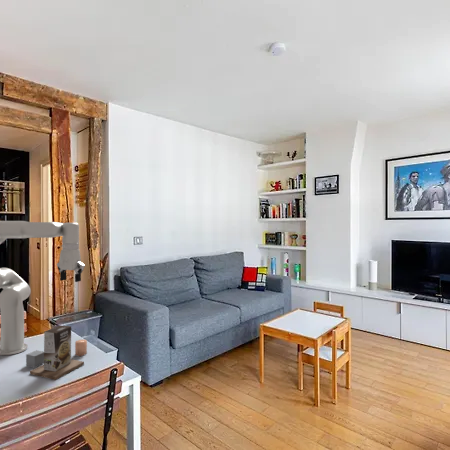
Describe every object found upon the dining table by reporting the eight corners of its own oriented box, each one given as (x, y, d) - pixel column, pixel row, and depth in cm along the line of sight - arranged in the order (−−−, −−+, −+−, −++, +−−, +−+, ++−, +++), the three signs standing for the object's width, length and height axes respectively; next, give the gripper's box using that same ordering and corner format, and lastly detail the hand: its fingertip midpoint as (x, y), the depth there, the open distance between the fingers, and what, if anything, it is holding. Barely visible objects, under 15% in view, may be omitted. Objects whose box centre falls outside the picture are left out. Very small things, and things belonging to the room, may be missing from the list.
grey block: (26, 365, 140) (26, 354, 140) (36, 361, 144) (36, 350, 144) (34, 367, 138) (34, 356, 138) (44, 363, 143) (44, 351, 143)
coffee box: (56, 371, 132) (56, 332, 131) (43, 370, 133) (43, 331, 133) (71, 362, 140) (72, 326, 140) (59, 360, 142) (59, 324, 142)
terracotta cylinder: (72, 355, 151) (72, 342, 151) (80, 351, 156) (81, 338, 156) (81, 356, 150) (81, 343, 150) (89, 352, 154) (89, 340, 154)
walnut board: (29, 374, 132) (29, 371, 132) (59, 359, 146) (59, 356, 146) (55, 380, 127) (55, 377, 127) (83, 364, 141) (83, 361, 141)
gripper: (51, 246, 161) (51, 280, 161) (78, 248, 155) (78, 283, 155) (63, 245, 168) (63, 278, 168) (89, 247, 162) (89, 280, 162)
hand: (70, 280), depth 161 cm, fingers open, 9 cm apart
